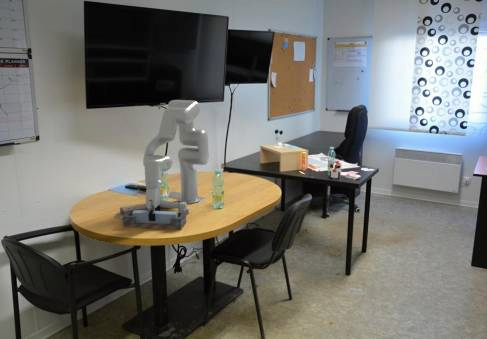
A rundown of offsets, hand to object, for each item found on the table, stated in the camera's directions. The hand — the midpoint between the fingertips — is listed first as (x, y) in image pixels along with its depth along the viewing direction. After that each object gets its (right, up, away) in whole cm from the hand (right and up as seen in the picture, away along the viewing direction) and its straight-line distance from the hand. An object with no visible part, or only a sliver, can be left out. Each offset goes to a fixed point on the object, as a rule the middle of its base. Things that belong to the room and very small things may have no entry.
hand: (155, 217), depth 211 cm
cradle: (0, -4, +1) cm, 4 cm away
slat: (0, -2, +1) cm, 2 cm away
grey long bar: (+4, +1, +22) cm, 23 cm away
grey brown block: (-13, -1, +17) cm, 21 cm away
